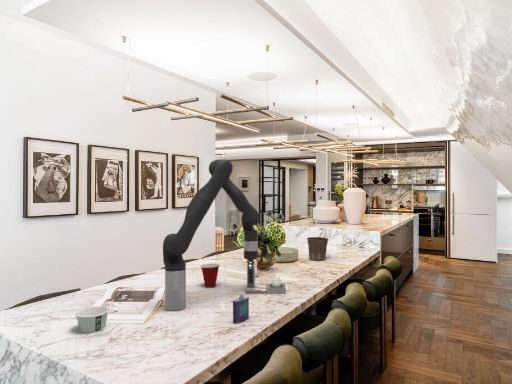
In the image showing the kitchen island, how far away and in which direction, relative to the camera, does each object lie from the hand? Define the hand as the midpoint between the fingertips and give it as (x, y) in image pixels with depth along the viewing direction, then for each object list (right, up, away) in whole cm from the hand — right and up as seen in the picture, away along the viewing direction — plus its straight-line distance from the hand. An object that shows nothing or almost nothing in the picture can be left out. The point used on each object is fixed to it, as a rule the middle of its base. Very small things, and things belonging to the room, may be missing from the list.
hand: (250, 281), depth 190 cm
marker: (0, -3, 0) cm, 3 cm away
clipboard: (+3, -5, +4) cm, 7 cm away
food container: (-61, -6, -50) cm, 79 cm away
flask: (-3, -6, -42) cm, 42 cm away
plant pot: (+50, -5, +85) cm, 99 cm away
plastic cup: (-23, -5, +10) cm, 25 cm away
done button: (+13, -4, 0) cm, 14 cm away
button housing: (+13, -5, 0) cm, 14 cm away
